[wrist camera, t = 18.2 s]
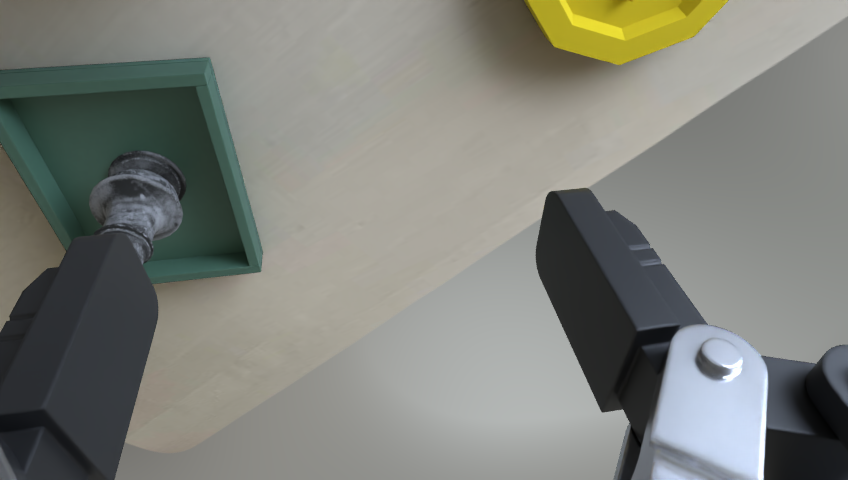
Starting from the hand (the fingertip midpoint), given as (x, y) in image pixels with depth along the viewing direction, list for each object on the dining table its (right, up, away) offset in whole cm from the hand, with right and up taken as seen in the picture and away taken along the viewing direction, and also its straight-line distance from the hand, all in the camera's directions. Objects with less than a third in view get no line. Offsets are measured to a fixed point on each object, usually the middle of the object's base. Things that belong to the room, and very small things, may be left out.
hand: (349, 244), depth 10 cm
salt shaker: (-19, +5, +29) cm, 35 cm away
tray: (-19, +5, +30) cm, 36 cm away
